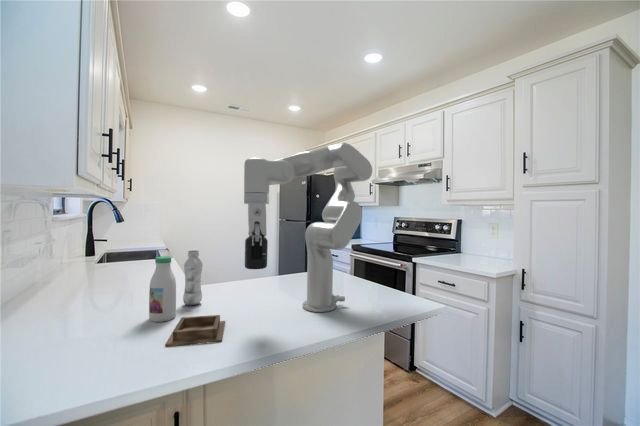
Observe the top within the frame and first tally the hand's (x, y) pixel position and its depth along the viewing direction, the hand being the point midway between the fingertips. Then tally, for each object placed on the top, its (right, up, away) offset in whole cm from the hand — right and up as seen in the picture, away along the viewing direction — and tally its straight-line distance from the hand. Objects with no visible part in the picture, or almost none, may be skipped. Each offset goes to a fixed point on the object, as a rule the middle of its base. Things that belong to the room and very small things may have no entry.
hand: (256, 256), depth 91 cm
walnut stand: (-15, -21, -6) cm, 27 cm away
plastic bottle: (-28, -21, +20) cm, 40 cm away
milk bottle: (-32, -21, +6) cm, 39 cm away
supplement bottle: (0, -4, 0) cm, 4 cm away
